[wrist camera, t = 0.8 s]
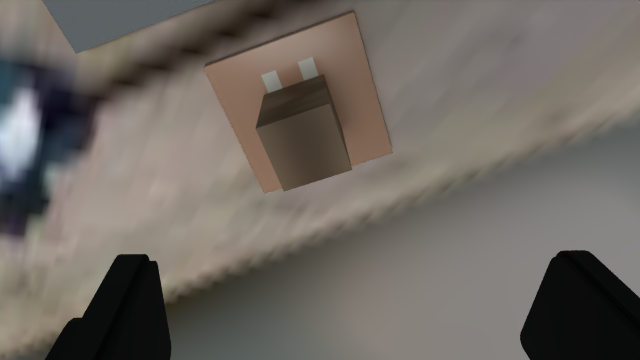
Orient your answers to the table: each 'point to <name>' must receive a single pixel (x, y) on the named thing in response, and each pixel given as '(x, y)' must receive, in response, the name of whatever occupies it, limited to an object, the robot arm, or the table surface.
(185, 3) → the slate board
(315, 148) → the walnut block
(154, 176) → the table surface
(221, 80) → the tile
